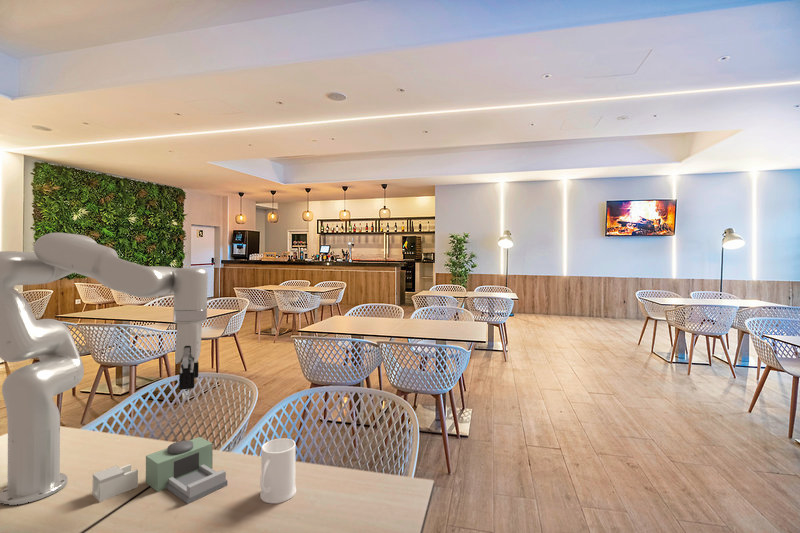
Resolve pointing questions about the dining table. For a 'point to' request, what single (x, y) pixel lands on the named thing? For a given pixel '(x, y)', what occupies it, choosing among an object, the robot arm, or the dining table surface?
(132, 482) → the white box on legs
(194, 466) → the toy coffee machine
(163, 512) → the dining table surface
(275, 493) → the mug
